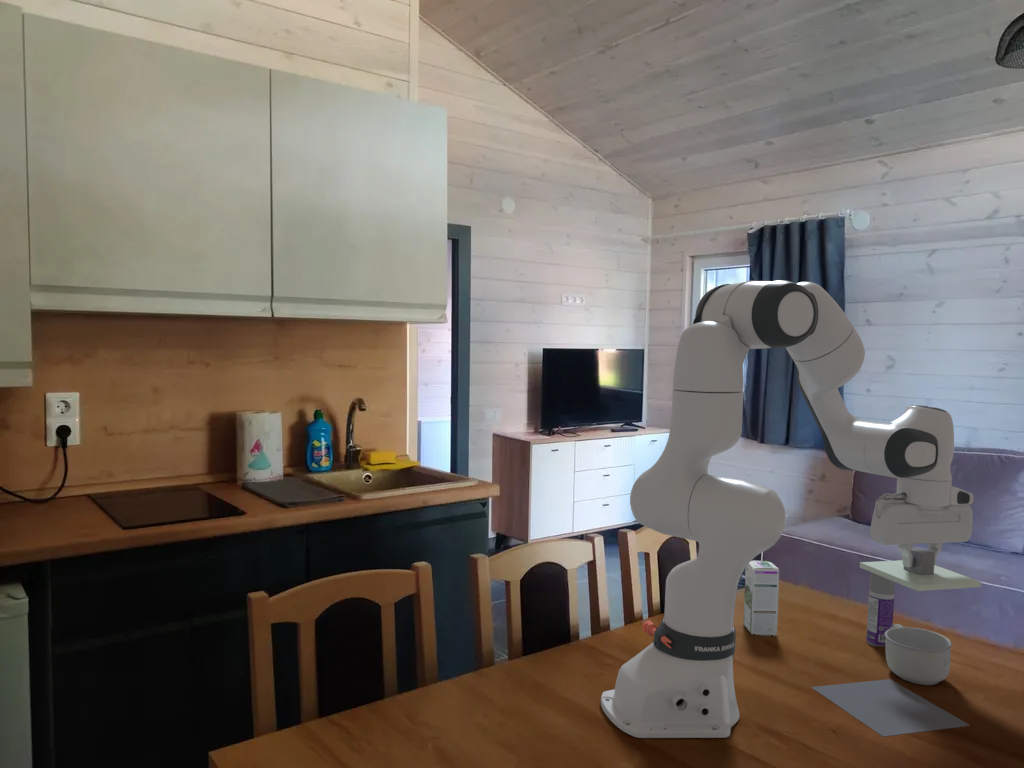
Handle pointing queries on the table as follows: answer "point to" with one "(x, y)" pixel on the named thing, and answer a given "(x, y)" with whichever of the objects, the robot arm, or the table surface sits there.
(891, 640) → the teacup
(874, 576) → the container
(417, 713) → the table surface
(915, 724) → the mat
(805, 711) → the table surface
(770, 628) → the syrup box
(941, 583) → the lid
